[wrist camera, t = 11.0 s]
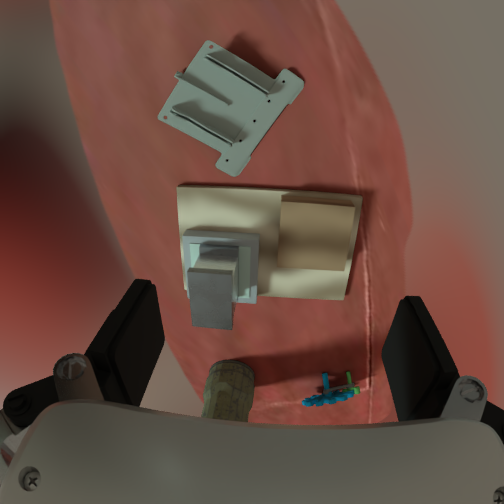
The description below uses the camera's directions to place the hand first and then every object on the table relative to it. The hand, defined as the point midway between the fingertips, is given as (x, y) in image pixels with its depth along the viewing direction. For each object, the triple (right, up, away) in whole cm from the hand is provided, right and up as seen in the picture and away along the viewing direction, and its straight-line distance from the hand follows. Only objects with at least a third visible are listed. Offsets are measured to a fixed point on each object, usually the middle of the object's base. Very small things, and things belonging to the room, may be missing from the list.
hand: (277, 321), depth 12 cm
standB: (-5, +1, +33) cm, 34 cm away
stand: (+7, +5, +30) cm, 31 cm away
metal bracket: (-4, +21, +24) cm, 32 cm away
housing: (-5, 0, +31) cm, 32 cm away
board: (+1, +4, +32) cm, 33 cm away
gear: (+14, -23, +45) cm, 53 cm away
